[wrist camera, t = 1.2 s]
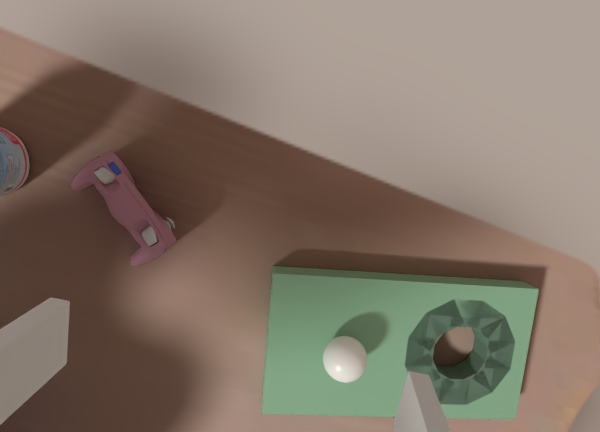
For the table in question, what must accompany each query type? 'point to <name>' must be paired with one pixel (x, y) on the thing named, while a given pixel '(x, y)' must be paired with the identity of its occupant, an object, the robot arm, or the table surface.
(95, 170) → the video game controller
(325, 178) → the table surface
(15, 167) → the pill bottle
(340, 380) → the ball
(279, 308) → the mat
